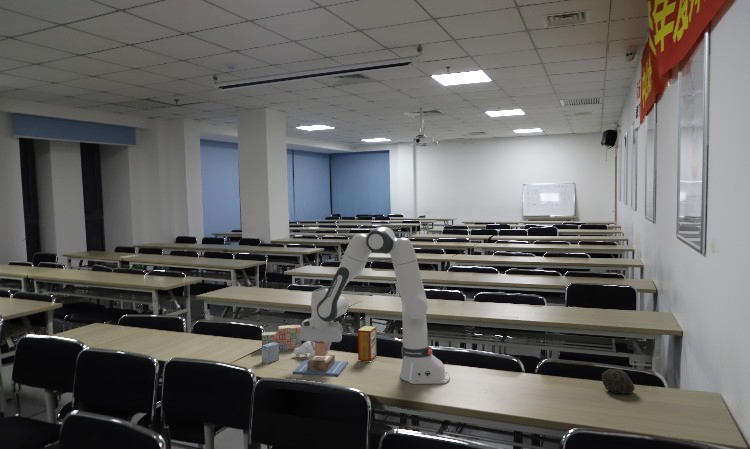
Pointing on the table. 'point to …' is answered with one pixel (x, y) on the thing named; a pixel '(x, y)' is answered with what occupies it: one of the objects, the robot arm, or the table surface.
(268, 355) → the medicine box
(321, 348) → the snap block
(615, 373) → the rock
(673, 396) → the table surface
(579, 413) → the table surface
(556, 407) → the table surface
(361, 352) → the baking soda box
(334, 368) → the board
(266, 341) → the stack of blocks
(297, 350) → the white animal figurine
